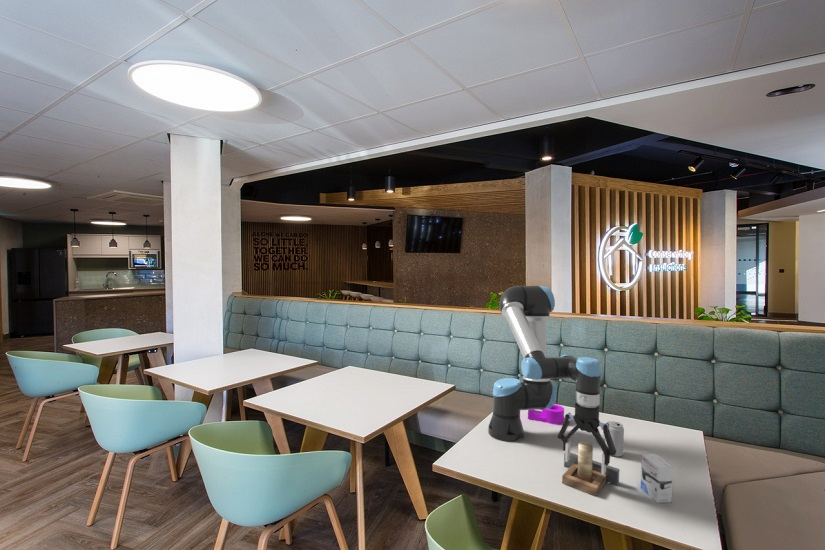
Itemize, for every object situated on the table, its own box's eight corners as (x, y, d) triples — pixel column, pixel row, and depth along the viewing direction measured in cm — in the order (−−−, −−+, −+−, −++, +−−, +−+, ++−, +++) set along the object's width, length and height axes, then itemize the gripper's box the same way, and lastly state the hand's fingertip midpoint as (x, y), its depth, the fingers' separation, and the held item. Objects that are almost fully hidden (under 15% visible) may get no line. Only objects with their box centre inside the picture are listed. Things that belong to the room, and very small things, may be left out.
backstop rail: (564, 466, 144) (564, 453, 144) (566, 464, 146) (566, 451, 145) (617, 485, 132) (617, 471, 132) (618, 483, 134) (619, 469, 134)
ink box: (639, 487, 132) (640, 453, 131) (653, 487, 132) (654, 453, 131) (657, 503, 123) (658, 467, 123) (672, 502, 123) (673, 466, 123)
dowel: (575, 479, 134) (576, 445, 133) (579, 473, 137) (581, 440, 137) (589, 484, 131) (590, 449, 130) (593, 478, 134) (594, 444, 134)
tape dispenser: (563, 418, 189) (564, 405, 188) (563, 426, 179) (564, 413, 179) (529, 412, 194) (529, 400, 194) (527, 420, 185) (528, 407, 185)
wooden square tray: (562, 482, 133) (562, 475, 133) (573, 469, 142) (573, 463, 141) (596, 496, 126) (596, 488, 126) (606, 481, 134) (606, 474, 134)
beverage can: (625, 458, 151) (626, 428, 150) (607, 456, 152) (608, 426, 151) (620, 450, 157) (621, 421, 156) (602, 448, 158) (603, 419, 158)
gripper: (548, 398, 138) (547, 458, 139) (622, 416, 122) (620, 484, 123) (556, 392, 143) (555, 450, 144) (628, 410, 128) (625, 475, 129)
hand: (585, 466), depth 134 cm, fingers open, 11 cm apart
